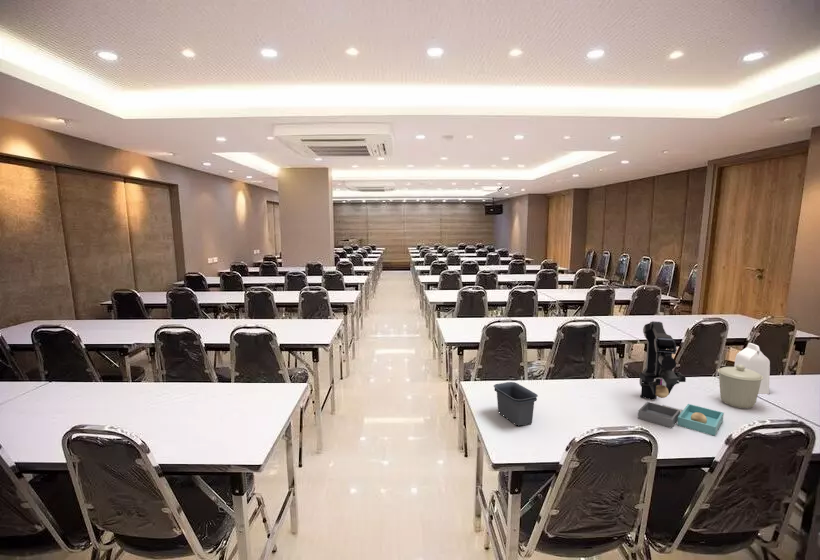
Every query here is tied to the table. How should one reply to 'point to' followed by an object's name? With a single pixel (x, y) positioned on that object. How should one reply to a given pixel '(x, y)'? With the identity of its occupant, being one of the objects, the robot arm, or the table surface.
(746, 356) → the milk
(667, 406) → the pattern card
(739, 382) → the canister
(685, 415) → the holder
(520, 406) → the storage bin
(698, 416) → the maple ball resting
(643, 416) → the tray
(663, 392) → the maple ball
